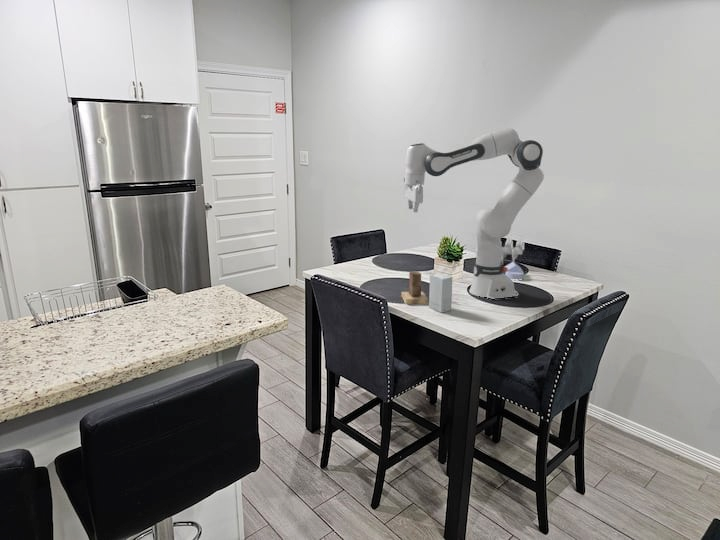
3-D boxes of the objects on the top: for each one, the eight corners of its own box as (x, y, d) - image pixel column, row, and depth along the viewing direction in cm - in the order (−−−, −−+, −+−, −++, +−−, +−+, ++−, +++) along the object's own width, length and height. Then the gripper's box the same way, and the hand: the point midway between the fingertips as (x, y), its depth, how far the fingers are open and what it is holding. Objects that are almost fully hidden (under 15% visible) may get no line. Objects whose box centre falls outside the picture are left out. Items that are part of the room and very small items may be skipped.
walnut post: (417, 293, 216) (417, 271, 213) (420, 295, 212) (421, 273, 209) (409, 293, 215) (409, 272, 212) (412, 296, 211) (412, 274, 209)
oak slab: (422, 297, 219) (422, 291, 219) (428, 305, 210) (428, 299, 209) (400, 298, 218) (401, 291, 217) (405, 305, 209) (406, 299, 208)
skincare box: (451, 310, 203) (454, 277, 199) (440, 313, 200) (443, 279, 195) (437, 304, 210) (440, 272, 205) (427, 307, 206) (429, 273, 202)
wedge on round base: (503, 272, 261) (505, 279, 249) (504, 260, 259) (507, 267, 247) (520, 274, 259) (524, 281, 247) (522, 262, 258) (525, 268, 245)
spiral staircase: (475, 267, 283) (519, 269, 279) (476, 262, 266) (524, 263, 261) (476, 237, 286) (519, 238, 282) (477, 230, 269) (524, 231, 264)
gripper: (427, 182, 209) (425, 214, 213) (415, 178, 229) (414, 207, 233) (413, 182, 209) (411, 214, 213) (402, 177, 228) (401, 207, 232)
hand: (412, 210), depth 223 cm, fingers open, 8 cm apart
